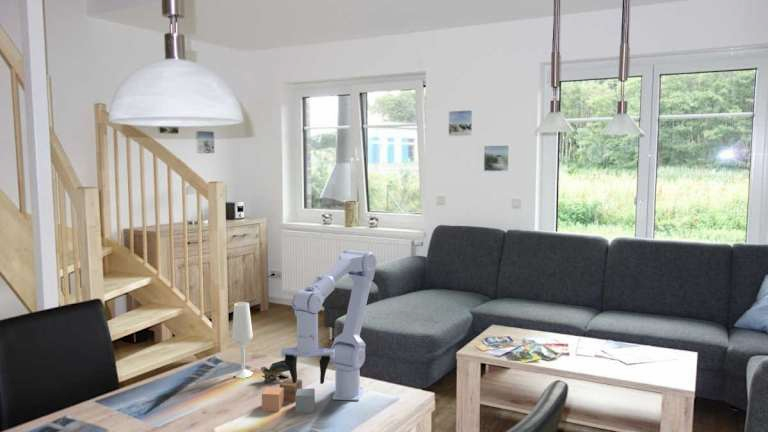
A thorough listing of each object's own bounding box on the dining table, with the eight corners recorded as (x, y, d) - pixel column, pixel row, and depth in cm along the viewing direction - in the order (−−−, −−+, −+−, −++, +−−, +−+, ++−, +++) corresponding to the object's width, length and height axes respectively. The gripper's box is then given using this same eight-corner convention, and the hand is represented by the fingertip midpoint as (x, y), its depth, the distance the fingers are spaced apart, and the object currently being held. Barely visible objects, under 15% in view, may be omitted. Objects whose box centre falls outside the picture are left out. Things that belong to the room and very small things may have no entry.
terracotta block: (267, 403, 174) (266, 387, 173) (283, 404, 173) (283, 387, 173) (262, 410, 169) (261, 393, 169) (279, 411, 169) (278, 394, 168)
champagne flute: (229, 374, 196) (227, 303, 194) (247, 369, 201) (245, 300, 198) (239, 380, 192) (237, 307, 189) (257, 375, 196) (256, 304, 194)
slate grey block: (297, 405, 173) (297, 388, 172) (314, 405, 173) (314, 388, 172) (295, 412, 168) (295, 395, 167) (313, 412, 168) (313, 395, 167)
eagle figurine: (275, 384, 185) (297, 371, 191) (264, 364, 186) (286, 352, 193) (265, 391, 190) (286, 378, 197) (254, 371, 191) (276, 359, 198)
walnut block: (287, 393, 181) (286, 378, 180) (302, 395, 180) (302, 379, 179) (279, 400, 176) (279, 384, 176) (295, 402, 175) (295, 386, 174)
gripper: (277, 338, 159) (278, 386, 160) (331, 339, 157) (332, 388, 159) (284, 330, 166) (285, 377, 167) (335, 331, 164) (336, 378, 166)
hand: (308, 382), depth 163 cm, fingers open, 7 cm apart
